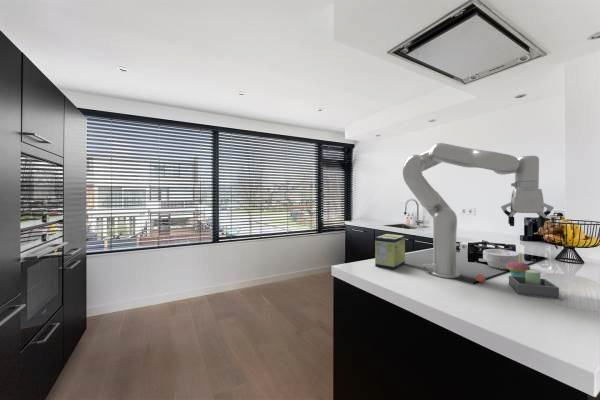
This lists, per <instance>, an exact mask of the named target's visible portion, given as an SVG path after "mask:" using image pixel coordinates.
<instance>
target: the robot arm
mask: <svg viewBox="0 0 600 400" xmlns="http://www.w3.org/2000/svg"><path fill="white" fill-rule="evenodd" d="M441 163H444V164H449V165H454V166H459V167H463V168H477V169H478V168H479V169H485V170H488V171H493V172H494V173H495V174H498V175H501V176H503V175H509V174H514V175H515V176H514V177H515V178H514V180H515V181H514V182H512V183H510V187H514V189H513V190H512V192H511V198H510V202H508V203H506V204H504V205H502V206H500V208H501V210H502V211H503V213H504V214H505V215H506V216H508V221H507V222H508V223H507V224H509V226H510V227H515V215H516V214H517V213H519V214H537V216H538V217H537V227H538V228H539V227H540V228H544V226H545V223H546V220H545V219H546V218H547V216H549V215H550V214H551V213H552V211H553V210H554V206H552V205H549V204H547V203H545V202H544V195H543V191H542V188H539V186H540V184H539V183H540V158H539V156H537V155H522V156H518V157H516V156H515V155H511V154H507V153H503V152H497V151H490V150H483V149H478V148H472V147H471V148H470V147H465V146H464V147H463V146H460V145H454V144H451V143H450V144H449V143H444V142H438V143H435V144H433V145H432V146H431V148H430V149H428V150H427V151H424V152H423V153H420V154H412V155H409V157H407V159H406V160H405V162H404V165H403V167H402V177H403V180H404V182H405V184H406V186H407V187H408V189H410V191H411V193H412V194H413V195H414V197H415V198H416V199H417V201H418V202H419V204H420V205H421V206H422V207H423V208H424V209H425V210H426V212H427V213H428V214H429V215H430V217H431V218H432V219H433V221H432V227H433V228H432V229H433V232H432V233H433V236H432V237H433V238H432V240H433V243H432V246H433V260H432V263H423V264H422V268H423V269H424V268H425V269H426V270H427V269H428V270H429V273H430V274H431V275H433V276H436V277H439V278H443V279H444V278H447V279H457V278H460V276H461V273H460V272H459V271H457V229H458V217H457V214H456V212H455V211H454V210H453V209H452V208H451V207H450V205H449V204H448V203H447V202H446V200H444V199H443V197H442V196H441V195H440V193H439V192H438V191H437V190H436V189H434V188H433V186H432V185H431V183H429V182H428V180H427V178H425V176H424V175H423V172H425V171H427V170H429V169H430V168H433V167H435V166H437V165H439V164H441ZM507 208H510V211H509V210H508V209H507ZM545 208H546V210H545Z"/></svg>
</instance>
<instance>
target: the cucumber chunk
mask: <svg viewBox="0 0 600 400" xmlns="http://www.w3.org/2000/svg"><path fill="white" fill-rule="evenodd" d="M540 278H541V272H540V271H538V270H532V269H530V270H526V271H525V284H531V285H540Z"/></svg>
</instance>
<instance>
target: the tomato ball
mask: <svg viewBox="0 0 600 400" xmlns="http://www.w3.org/2000/svg"><path fill="white" fill-rule="evenodd" d="M475 280H476V281H477V282H478V281H479V282H478V283H484V282H486V277H485V276H484V275H483V274H481V273H479V274H476V276H475Z"/></svg>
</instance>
